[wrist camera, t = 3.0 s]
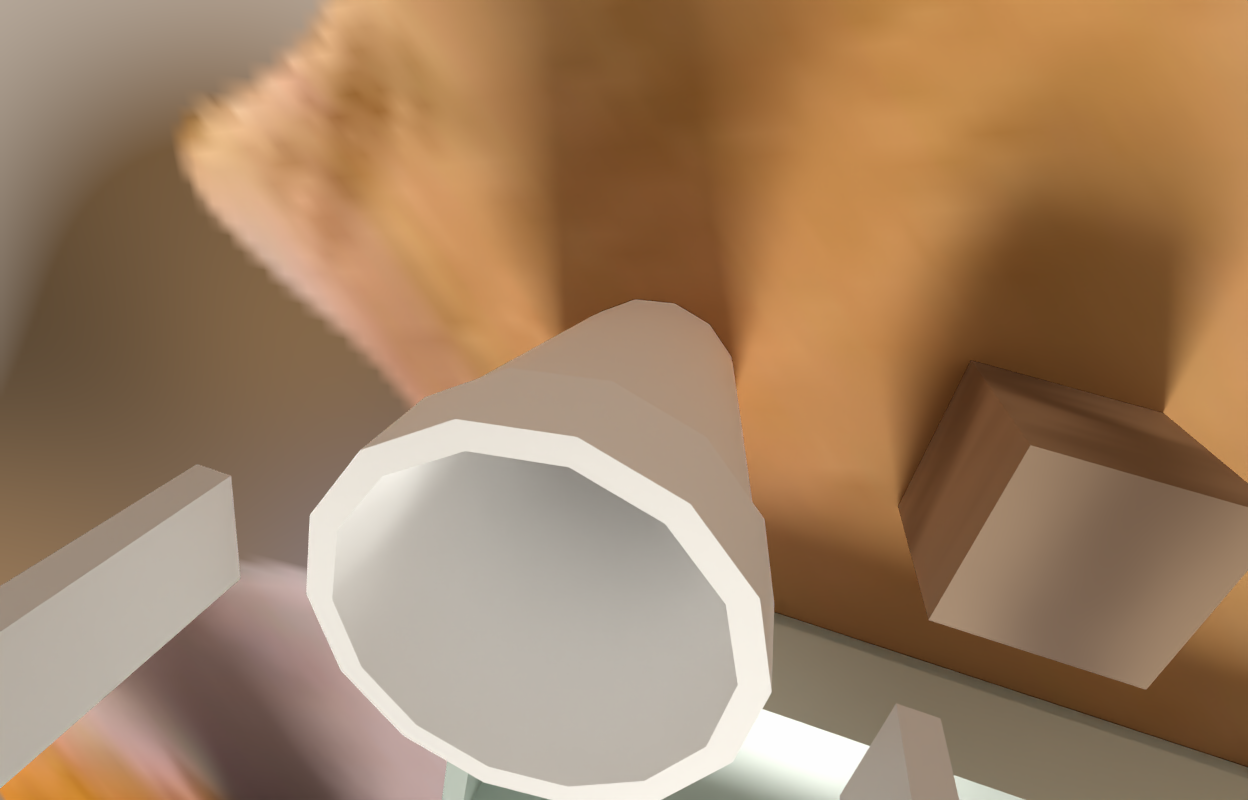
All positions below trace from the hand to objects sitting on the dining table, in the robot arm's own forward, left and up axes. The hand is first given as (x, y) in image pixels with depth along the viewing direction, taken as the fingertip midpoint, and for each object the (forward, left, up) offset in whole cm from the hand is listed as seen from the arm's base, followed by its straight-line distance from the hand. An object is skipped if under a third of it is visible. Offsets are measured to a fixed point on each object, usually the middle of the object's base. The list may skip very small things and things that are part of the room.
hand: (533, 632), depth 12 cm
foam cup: (0, 0, -13) cm, 13 cm away
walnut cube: (+13, +1, -13) cm, 18 cm away
